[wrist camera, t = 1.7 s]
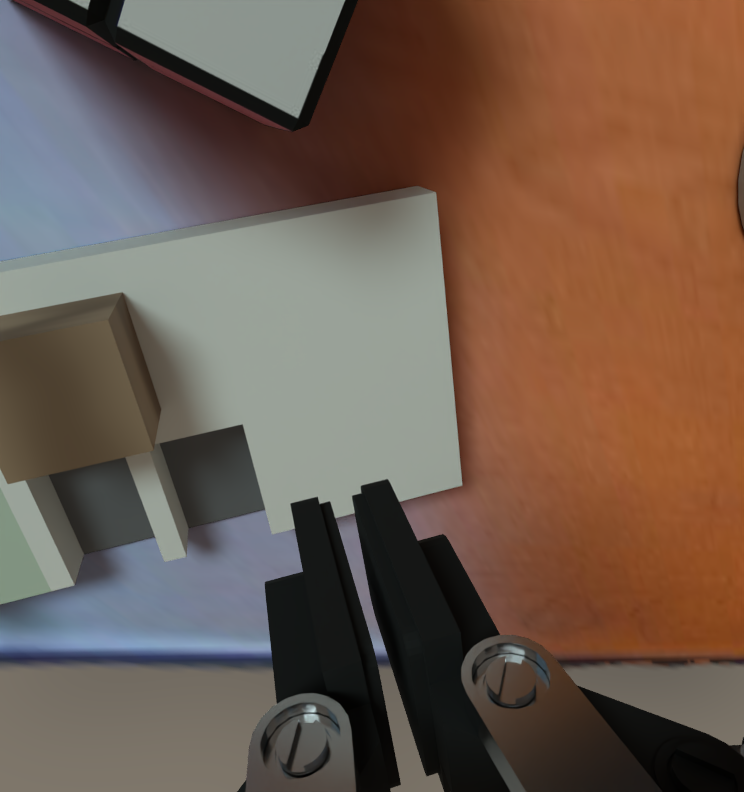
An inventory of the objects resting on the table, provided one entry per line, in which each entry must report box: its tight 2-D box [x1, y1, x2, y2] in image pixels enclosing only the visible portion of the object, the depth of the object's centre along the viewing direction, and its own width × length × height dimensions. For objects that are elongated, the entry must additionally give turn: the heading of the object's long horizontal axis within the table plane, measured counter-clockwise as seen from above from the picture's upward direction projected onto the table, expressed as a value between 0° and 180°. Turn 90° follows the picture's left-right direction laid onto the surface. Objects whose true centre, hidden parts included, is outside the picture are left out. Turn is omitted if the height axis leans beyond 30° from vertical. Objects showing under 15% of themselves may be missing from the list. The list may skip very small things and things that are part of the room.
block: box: [0, 292, 161, 484], centre depth 22 cm, size 5×5×4 cm
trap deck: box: [0, 186, 462, 604], centre depth 25 cm, size 25×14×6 cm, turn 98°
